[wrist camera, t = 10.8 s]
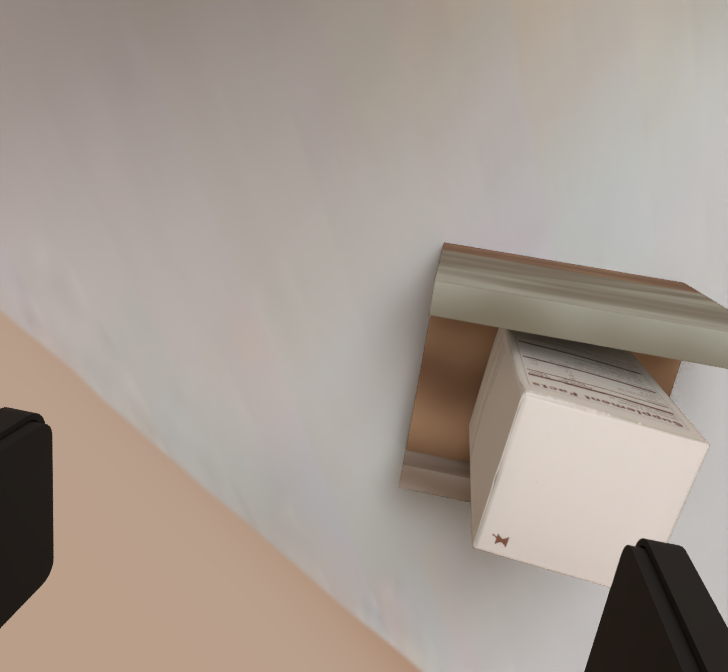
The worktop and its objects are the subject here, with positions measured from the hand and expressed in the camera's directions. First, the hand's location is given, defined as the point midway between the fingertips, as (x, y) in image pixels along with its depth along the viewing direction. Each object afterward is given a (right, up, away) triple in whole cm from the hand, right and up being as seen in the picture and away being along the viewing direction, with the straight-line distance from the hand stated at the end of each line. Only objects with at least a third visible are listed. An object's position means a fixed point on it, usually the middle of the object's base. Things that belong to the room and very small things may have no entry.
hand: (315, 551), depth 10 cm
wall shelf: (+11, +1, +29) cm, 32 cm away
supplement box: (+11, +1, +27) cm, 29 cm away
